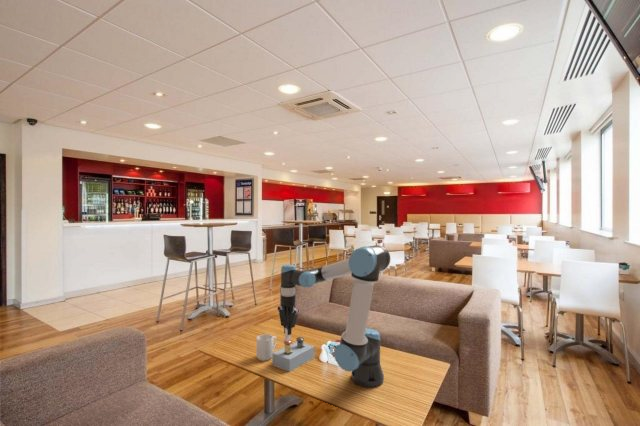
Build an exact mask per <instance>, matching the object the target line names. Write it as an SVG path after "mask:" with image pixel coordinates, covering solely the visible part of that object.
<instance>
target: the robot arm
mask: <svg viewBox="0 0 640 426" xmlns="http://www.w3.org/2000/svg"><path fill="white" fill-rule="evenodd" d="M390 264H391V254H390V252H389V250H388V249H387V248H386V247H384V246H382V245H371V246H361V247H359V248H356V249H355V250H353V251H352V252H351V254H350V256H349V257H348V258H346V259H343V260H340V261H336V262H333V263H330V264H326V265H324V266H320V267H316V268H311V269H305V270H299V269H297V268H296V267H297V266H296V265H294V264H282V266H281V268H280V269H281V270H280V306H277V310H278V314H279V315H278V316H279V320H280V321H279V322H280V325H281V326H282V327H283V330H284V331H283V333H284V340H285V341H289V340H292V338H291V336H292V329H293V328H295V327H296V322H297V316H298V314H299V309H297V308H296V306H295V303H296V286H299V287H302V288H311V287H313V286H314V285H315V284H318V283H324V282H327V281H329V280H333V279H337V278H338V279H339V278H342V277H345V276H348V275H349V276H351V278H352V279H353V284H352V290H351V297H350V303H349V310H348V313H347V314H348V315H347V321H346V327H345V331H343V332H342V333H341V336H340V337H341V338H340V342H339V343H340V344H337V345H336V347H335V348H334V350H333V357H334V359H335V361H336V363H337V365H338V367H339V368H341V370H343V371H346V372H351V381H352V382H353V383H354V384H355V385H358V386H361V387H365V388H375V386H376V387H379V386H381V385H382V384H383V383H384V382H383V381H384V380H385V376H384V372H383V369H382V365H381V333H380V332H379V331H378V330H376V329H372V328H367V326H368V320H369V315H370V309H371V303H372V297H373V291H374V290H373V289H374V285H375V284H376V283H378V281H379V277H380V272H381V271H384V270H386V269H387V268H388V267H389V265H390Z"/></svg>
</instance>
